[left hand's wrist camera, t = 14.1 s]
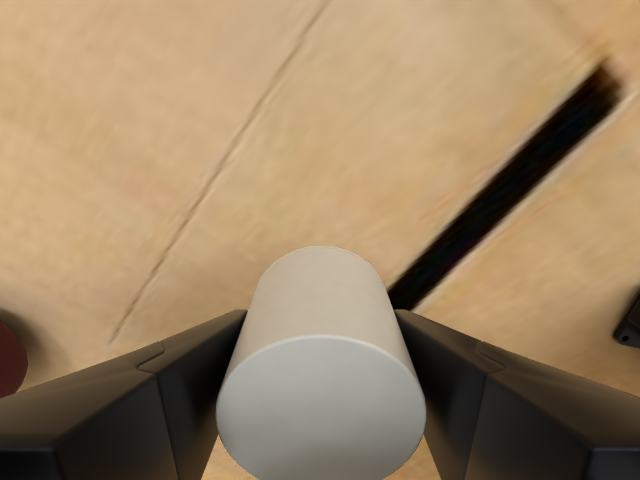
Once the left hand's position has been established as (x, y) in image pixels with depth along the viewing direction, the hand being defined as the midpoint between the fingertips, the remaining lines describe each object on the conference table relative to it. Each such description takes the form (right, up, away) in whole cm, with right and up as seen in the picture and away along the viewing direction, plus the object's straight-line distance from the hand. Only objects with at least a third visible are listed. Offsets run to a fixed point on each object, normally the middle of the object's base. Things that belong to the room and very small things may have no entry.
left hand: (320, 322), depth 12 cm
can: (0, 0, +1) cm, 1 cm away
